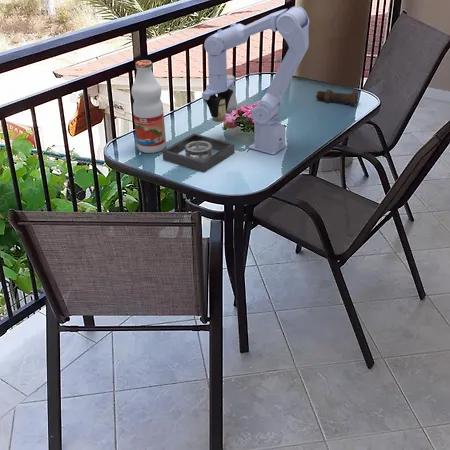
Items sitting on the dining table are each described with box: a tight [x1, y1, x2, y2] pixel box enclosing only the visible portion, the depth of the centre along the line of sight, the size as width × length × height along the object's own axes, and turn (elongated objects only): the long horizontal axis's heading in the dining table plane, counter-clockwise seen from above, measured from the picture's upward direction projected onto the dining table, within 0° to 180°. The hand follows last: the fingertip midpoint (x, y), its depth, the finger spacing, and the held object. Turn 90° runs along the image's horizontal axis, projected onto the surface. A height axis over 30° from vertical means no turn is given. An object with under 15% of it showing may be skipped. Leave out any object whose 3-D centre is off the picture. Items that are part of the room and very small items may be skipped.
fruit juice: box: [131, 59, 167, 154], centre depth 184 cm, size 9×9×28 cm
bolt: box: [315, 89, 359, 107], centre depth 221 cm, size 6×5×15 cm
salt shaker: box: [226, 74, 238, 113], centre depth 214 cm, size 6×6×13 cm
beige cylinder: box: [211, 95, 227, 123], centre depth 190 cm, size 5×5×7 cm
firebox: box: [161, 133, 235, 173], centre depth 185 cm, size 16×16×3 cm
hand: (219, 114), depth 191 cm, fingers closed on beige cylinder, 4 cm apart
